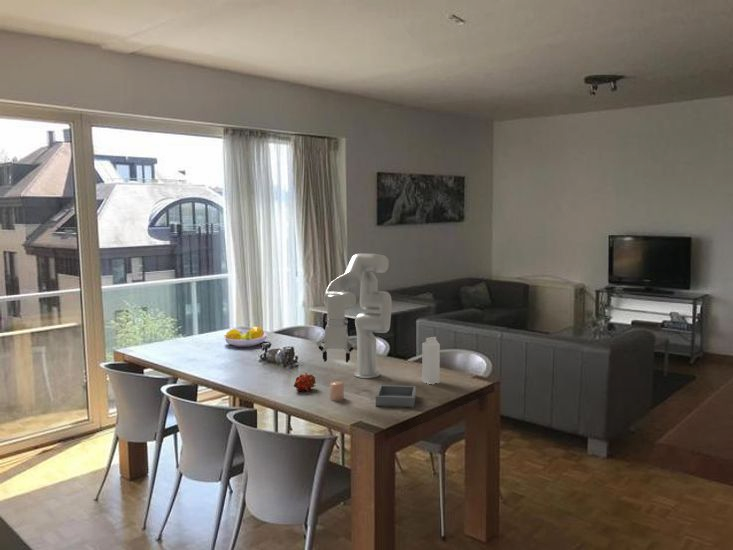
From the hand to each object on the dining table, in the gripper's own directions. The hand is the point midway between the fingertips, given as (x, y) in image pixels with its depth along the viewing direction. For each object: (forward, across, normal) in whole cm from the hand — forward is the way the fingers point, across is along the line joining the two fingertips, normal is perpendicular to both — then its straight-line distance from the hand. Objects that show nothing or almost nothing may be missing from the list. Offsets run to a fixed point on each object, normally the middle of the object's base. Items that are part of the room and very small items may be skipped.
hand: (336, 361), depth 258 cm
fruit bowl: (+16, +75, -96) cm, 122 cm away
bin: (+17, -26, 0) cm, 31 cm away
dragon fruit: (+17, +17, -10) cm, 26 cm away
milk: (+17, -40, -30) cm, 52 cm away
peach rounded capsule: (+17, 0, 0) cm, 17 cm away
